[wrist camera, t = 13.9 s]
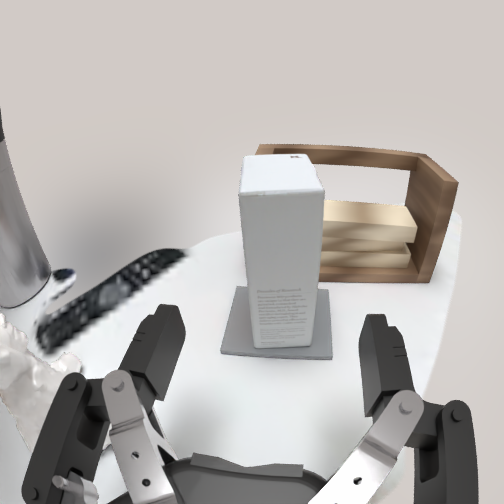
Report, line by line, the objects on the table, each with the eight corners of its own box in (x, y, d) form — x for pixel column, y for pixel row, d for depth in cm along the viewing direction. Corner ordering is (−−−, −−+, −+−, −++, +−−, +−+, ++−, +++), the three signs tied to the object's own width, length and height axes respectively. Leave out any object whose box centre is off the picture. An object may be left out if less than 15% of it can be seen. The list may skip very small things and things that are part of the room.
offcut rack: (256, 279, 27) (248, 169, 21) (264, 235, 33) (259, 144, 27) (428, 282, 25) (458, 182, 19) (408, 240, 31) (425, 154, 25)
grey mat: (220, 353, 20) (220, 350, 20) (237, 289, 26) (237, 286, 26) (331, 359, 19) (332, 356, 19) (327, 292, 25) (328, 289, 25)
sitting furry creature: (163, 410, 17) (77, 270, 10) (101, 507, 10) (-57, 426, 3) (75, 360, 20) (1, 238, 13) (20, 431, 13) (-86, 324, 6)
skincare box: (253, 293, 25) (242, 154, 18) (303, 291, 25) (308, 152, 18) (252, 351, 20) (235, 191, 13) (312, 348, 20) (329, 188, 13)
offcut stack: (283, 268, 27) (283, 221, 24) (285, 238, 31) (285, 196, 28) (408, 271, 25) (420, 227, 22) (395, 241, 29) (403, 201, 26)
